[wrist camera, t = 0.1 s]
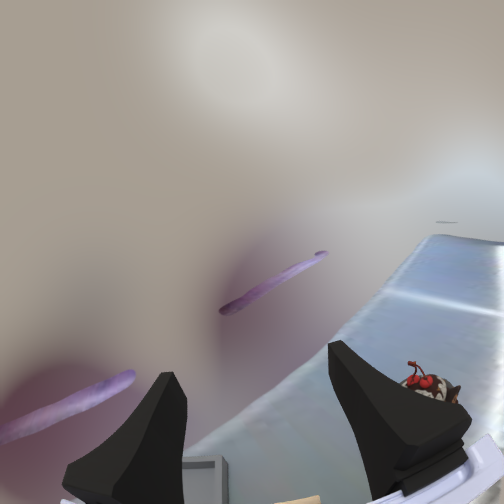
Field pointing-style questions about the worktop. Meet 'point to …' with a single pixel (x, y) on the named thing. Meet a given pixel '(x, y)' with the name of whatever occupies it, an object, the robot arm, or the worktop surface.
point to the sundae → (431, 386)
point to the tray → (205, 480)
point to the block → (304, 501)
